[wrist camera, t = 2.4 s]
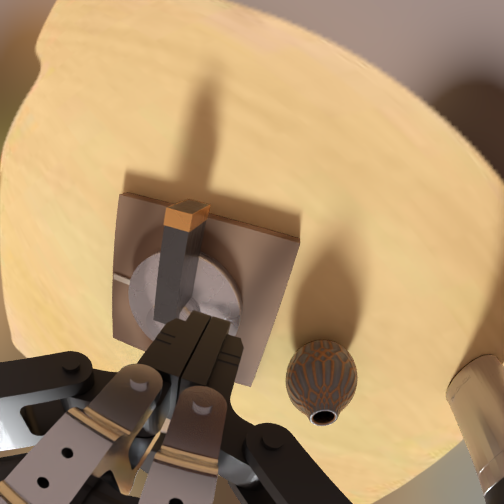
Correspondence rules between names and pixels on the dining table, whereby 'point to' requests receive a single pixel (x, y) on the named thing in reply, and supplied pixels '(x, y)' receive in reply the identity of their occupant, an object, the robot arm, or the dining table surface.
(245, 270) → the base
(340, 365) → the vase
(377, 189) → the dining table surface
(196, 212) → the knob
